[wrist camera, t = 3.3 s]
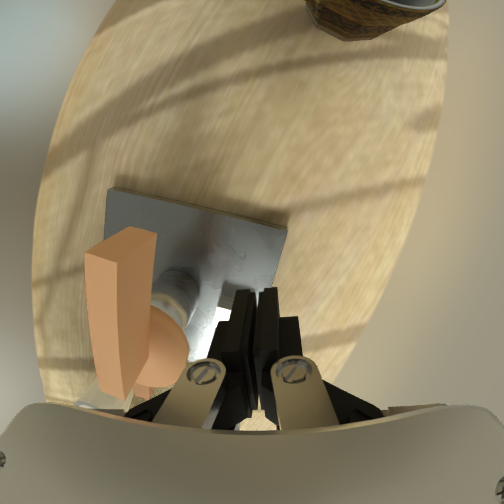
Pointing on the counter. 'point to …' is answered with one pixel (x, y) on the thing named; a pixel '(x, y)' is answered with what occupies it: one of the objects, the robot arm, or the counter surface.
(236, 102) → the counter surface
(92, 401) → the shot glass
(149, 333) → the orange lever handle
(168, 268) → the grey plate with posts
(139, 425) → the robot arm
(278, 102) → the counter surface
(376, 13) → the ceramic cup
